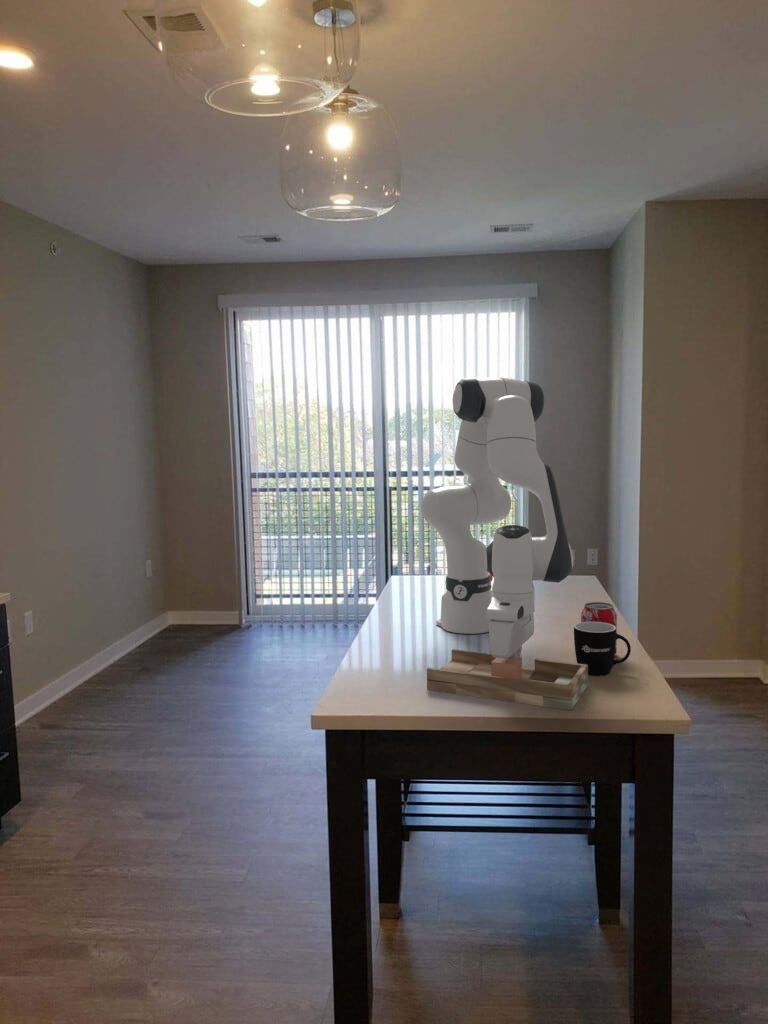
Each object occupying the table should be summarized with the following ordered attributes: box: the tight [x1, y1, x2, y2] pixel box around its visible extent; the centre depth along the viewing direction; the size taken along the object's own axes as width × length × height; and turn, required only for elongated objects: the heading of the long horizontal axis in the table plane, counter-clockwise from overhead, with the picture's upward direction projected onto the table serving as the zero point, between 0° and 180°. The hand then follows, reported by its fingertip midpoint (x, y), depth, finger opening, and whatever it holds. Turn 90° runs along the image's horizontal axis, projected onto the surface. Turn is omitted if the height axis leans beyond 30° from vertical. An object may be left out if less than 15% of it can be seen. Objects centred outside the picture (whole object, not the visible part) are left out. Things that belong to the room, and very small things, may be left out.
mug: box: [573, 621, 632, 677], centre depth 164 cm, size 12×9×10 cm
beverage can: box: [580, 601, 618, 655], centre depth 176 cm, size 8×8×12 cm
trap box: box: [426, 648, 589, 711], centre depth 156 cm, size 15×30×4 cm, turn 63°
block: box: [491, 657, 523, 679], centre depth 156 cm, size 5×5×4 cm
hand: (514, 667), depth 160 cm, fingers closed
